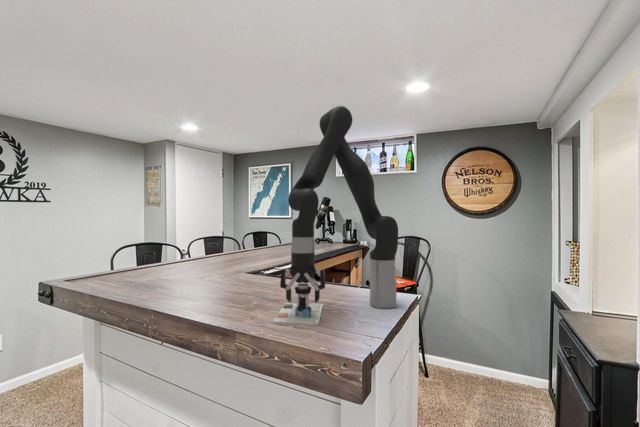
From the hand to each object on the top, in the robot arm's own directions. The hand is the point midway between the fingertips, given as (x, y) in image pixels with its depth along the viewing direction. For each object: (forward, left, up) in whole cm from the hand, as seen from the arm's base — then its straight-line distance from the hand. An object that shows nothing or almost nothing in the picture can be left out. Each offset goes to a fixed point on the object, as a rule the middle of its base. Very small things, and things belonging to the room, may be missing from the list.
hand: (302, 301), depth 99 cm
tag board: (+2, -5, -6) cm, 8 cm away
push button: (-1, 0, -5) cm, 5 cm away
